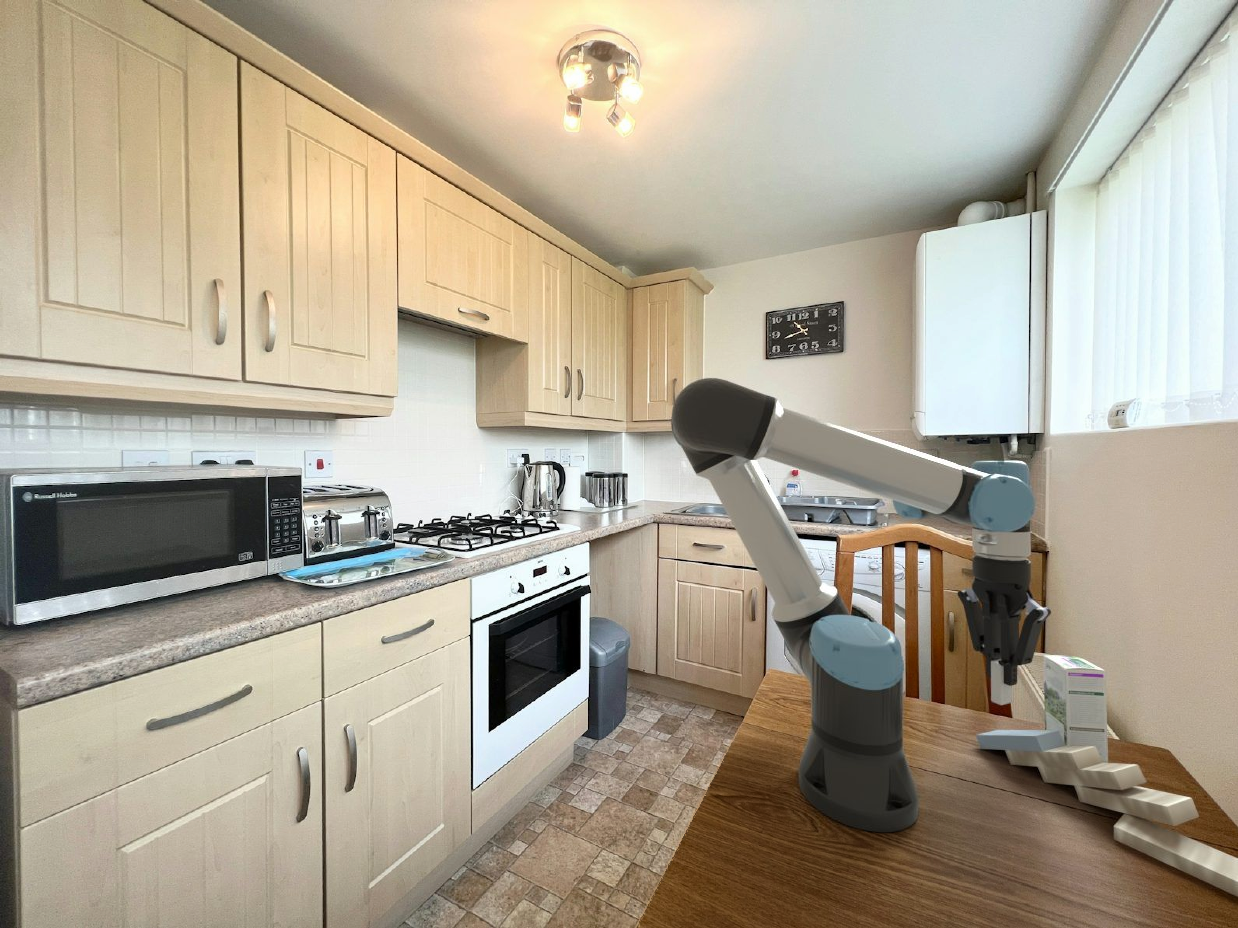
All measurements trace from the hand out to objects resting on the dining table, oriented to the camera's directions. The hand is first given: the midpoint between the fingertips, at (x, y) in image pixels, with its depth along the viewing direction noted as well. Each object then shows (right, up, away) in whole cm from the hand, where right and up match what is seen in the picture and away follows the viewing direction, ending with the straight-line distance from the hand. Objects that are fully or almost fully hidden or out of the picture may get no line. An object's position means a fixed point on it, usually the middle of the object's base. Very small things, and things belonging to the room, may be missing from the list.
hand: (1001, 701), depth 80 cm
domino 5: (+1, -7, -18) cm, 19 cm away
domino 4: (+4, -7, -11) cm, 14 cm away
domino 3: (+2, -7, -7) cm, 10 cm away
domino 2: (+1, -7, -3) cm, 7 cm away
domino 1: (-1, -7, +2) cm, 7 cm away
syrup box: (+11, -8, 0) cm, 14 cm away
